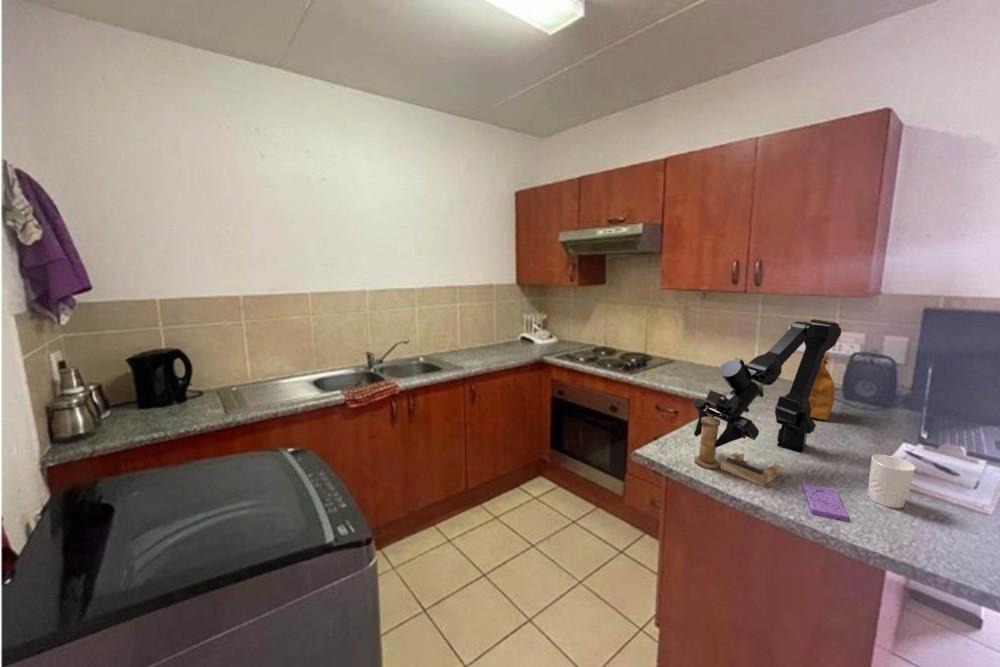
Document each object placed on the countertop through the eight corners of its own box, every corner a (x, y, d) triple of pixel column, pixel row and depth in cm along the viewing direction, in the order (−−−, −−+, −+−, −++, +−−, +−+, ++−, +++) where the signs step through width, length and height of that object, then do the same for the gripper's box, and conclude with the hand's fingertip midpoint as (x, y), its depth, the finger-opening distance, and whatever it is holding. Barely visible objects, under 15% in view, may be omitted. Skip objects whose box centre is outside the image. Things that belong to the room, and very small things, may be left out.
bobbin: (721, 464, 125) (726, 420, 122) (712, 471, 121) (717, 426, 118) (699, 456, 129) (704, 414, 126) (690, 463, 125) (695, 419, 122)
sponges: (835, 496, 110) (836, 489, 110) (847, 524, 99) (849, 516, 99) (801, 489, 113) (802, 482, 113) (810, 515, 102) (811, 508, 102)
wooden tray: (738, 458, 128) (739, 447, 128) (779, 474, 120) (781, 463, 119) (720, 468, 122) (721, 457, 122) (762, 485, 114) (764, 474, 113)
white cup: (856, 492, 111) (863, 455, 109) (885, 490, 112) (892, 454, 110) (885, 510, 104) (893, 471, 102) (916, 509, 104) (925, 470, 102)
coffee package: (832, 413, 164) (842, 355, 159) (829, 423, 154) (839, 362, 150) (800, 407, 170) (809, 351, 166) (795, 416, 161) (804, 357, 156)
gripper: (700, 371, 130) (666, 411, 129) (756, 391, 113) (717, 438, 111) (718, 394, 134) (685, 433, 133) (774, 417, 117) (738, 462, 116)
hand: (704, 440), depth 123 cm, fingers open, 7 cm apart
